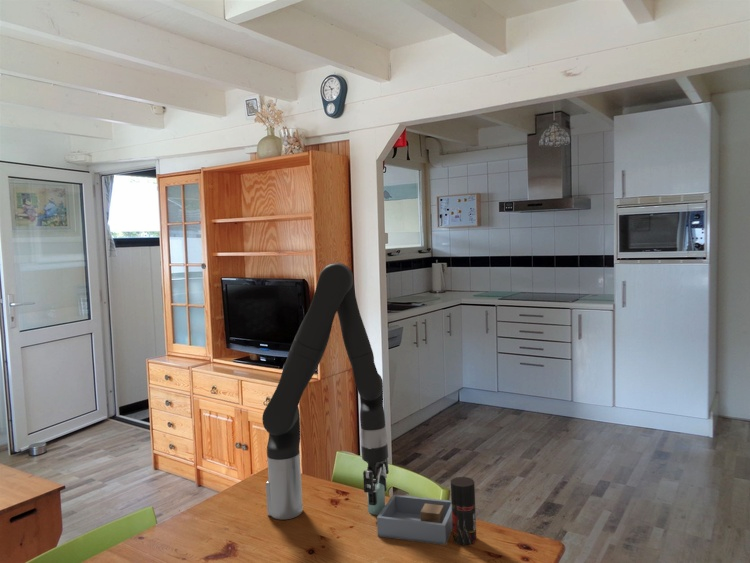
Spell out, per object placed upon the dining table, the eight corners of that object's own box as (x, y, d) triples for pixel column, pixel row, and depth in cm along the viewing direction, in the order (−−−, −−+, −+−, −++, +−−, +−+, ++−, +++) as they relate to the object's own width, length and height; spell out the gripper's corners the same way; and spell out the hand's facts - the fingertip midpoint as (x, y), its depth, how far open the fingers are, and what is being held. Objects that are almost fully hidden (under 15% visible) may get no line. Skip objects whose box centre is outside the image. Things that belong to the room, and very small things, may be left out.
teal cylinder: (365, 513, 157) (364, 489, 156) (371, 505, 161) (370, 482, 161) (382, 515, 155) (381, 491, 155) (387, 507, 160) (386, 484, 159)
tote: (377, 536, 144) (376, 517, 144) (393, 511, 157) (393, 494, 157) (445, 545, 138) (445, 525, 137) (456, 519, 151) (455, 501, 151)
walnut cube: (421, 530, 144) (420, 511, 144) (425, 521, 149) (425, 503, 149) (439, 532, 143) (439, 514, 143) (444, 523, 147) (443, 505, 147)
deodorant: (476, 546, 137) (474, 487, 136) (452, 544, 138) (449, 486, 137) (476, 534, 142) (474, 477, 142) (453, 532, 144) (451, 476, 143)
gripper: (370, 433, 165) (374, 486, 166) (352, 450, 152) (356, 508, 152) (394, 434, 163) (397, 488, 163) (378, 452, 149) (382, 510, 150)
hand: (377, 497), depth 158 cm, fingers open, 8 cm apart
